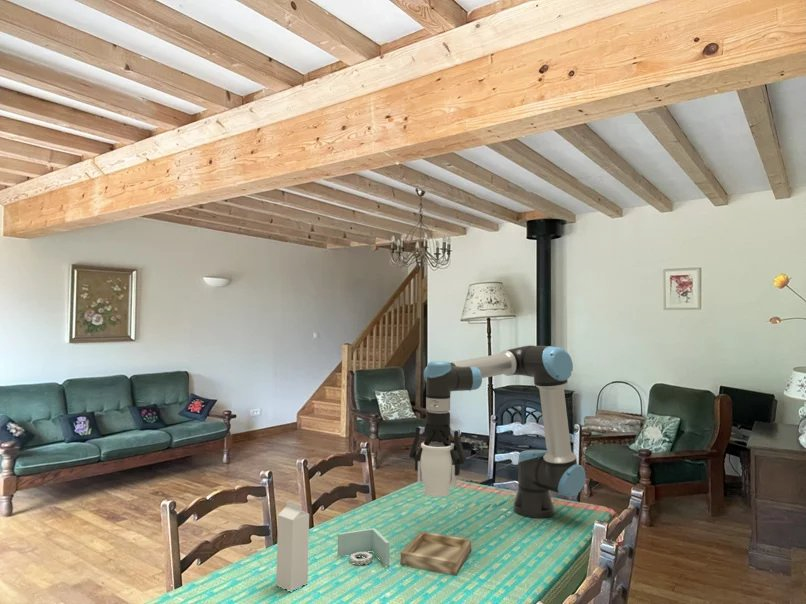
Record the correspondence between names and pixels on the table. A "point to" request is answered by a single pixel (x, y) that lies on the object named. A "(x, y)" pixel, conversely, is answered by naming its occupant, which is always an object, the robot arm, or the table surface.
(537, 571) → the table surface
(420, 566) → the wooden tray
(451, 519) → the table surface
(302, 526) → the milk
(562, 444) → the robot arm
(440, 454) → the jar
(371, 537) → the l-shaped corner panel
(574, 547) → the table surface
